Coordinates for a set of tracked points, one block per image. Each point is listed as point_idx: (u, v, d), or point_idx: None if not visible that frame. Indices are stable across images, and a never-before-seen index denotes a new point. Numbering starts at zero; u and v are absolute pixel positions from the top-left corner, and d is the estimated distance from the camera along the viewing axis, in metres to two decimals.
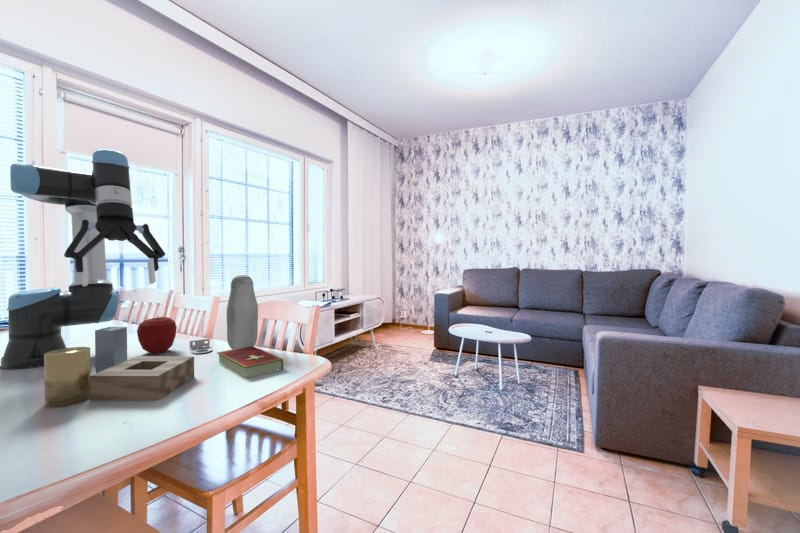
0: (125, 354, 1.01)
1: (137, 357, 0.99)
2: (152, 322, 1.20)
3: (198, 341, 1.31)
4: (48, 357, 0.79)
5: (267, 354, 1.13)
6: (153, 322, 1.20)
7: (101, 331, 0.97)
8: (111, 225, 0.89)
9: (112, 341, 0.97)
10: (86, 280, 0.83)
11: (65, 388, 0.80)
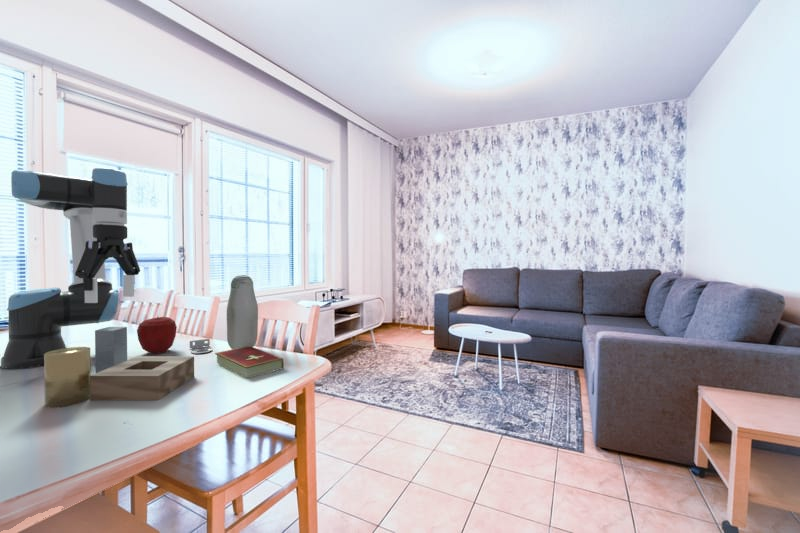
0: (125, 354, 1.01)
1: (137, 357, 0.99)
2: (152, 322, 1.20)
3: (198, 341, 1.31)
4: (48, 357, 0.79)
5: (267, 354, 1.13)
6: (153, 322, 1.20)
7: (101, 331, 0.97)
8: (114, 246, 0.97)
9: (112, 341, 0.97)
10: (96, 300, 0.92)
11: (65, 388, 0.80)
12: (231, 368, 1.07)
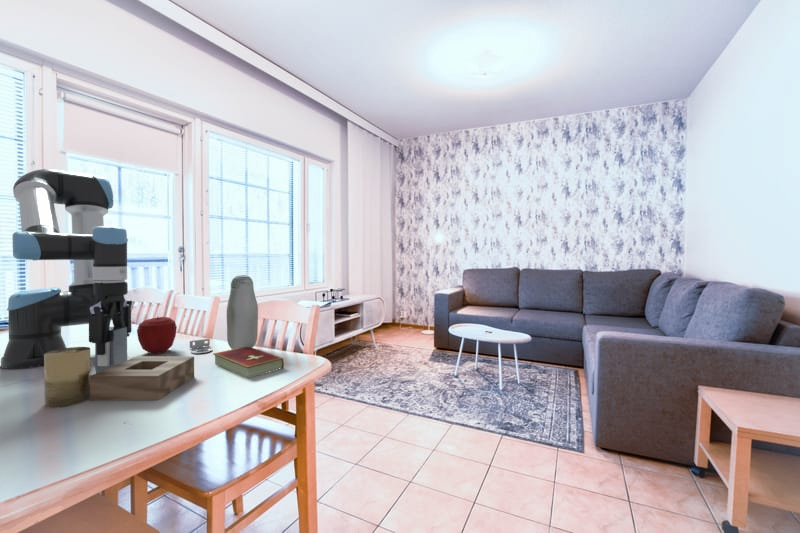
0: (125, 354, 1.01)
1: (137, 357, 0.99)
2: (152, 322, 1.20)
3: (198, 341, 1.31)
4: (48, 357, 0.79)
5: (266, 354, 1.13)
6: (153, 322, 1.20)
7: None
8: (114, 304, 0.98)
9: (112, 341, 0.97)
10: (108, 362, 0.97)
11: (65, 388, 0.80)
12: (231, 368, 1.06)
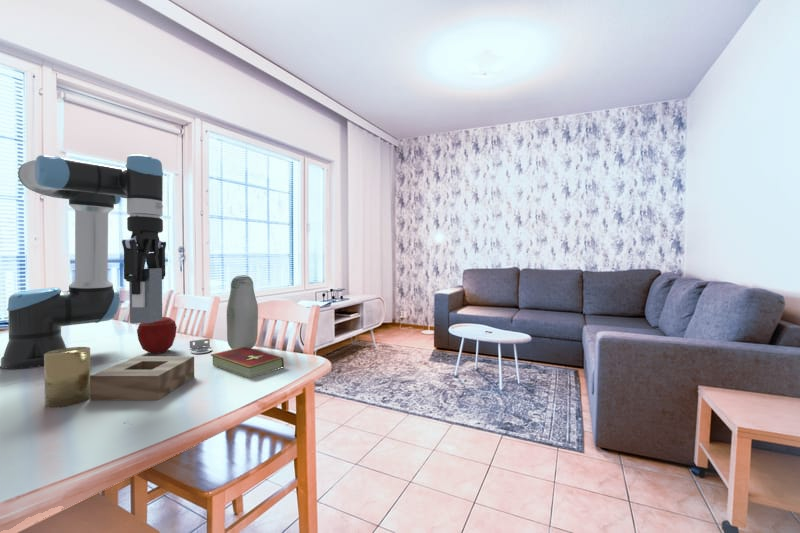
0: (160, 298, 0.93)
1: (137, 357, 0.99)
2: (152, 322, 1.20)
3: (198, 341, 1.31)
4: (48, 357, 0.79)
5: (265, 353, 1.13)
6: (153, 322, 1.20)
7: None
8: (149, 240, 0.90)
9: (148, 281, 0.89)
10: (144, 304, 0.89)
11: (65, 388, 0.80)
12: (230, 369, 1.06)
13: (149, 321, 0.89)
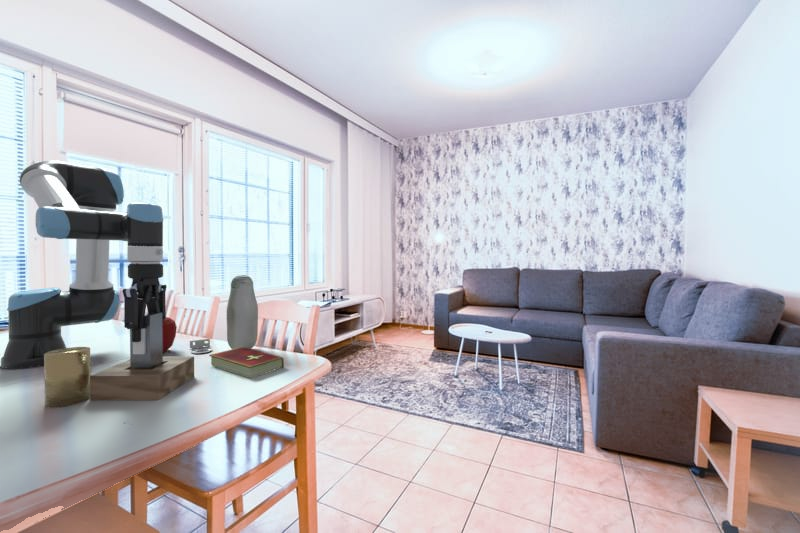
0: (160, 342, 0.94)
1: None
2: None
3: (198, 341, 1.31)
4: (48, 357, 0.79)
5: (265, 353, 1.13)
6: None
7: None
8: (150, 287, 0.90)
9: (148, 327, 0.89)
10: (144, 350, 0.89)
11: (65, 388, 0.80)
12: (230, 369, 1.06)
13: (150, 367, 0.90)
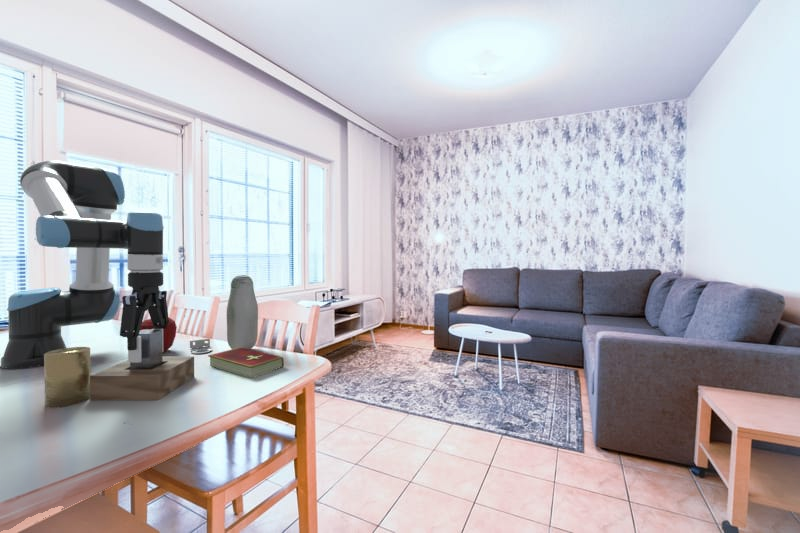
0: (160, 359, 0.94)
1: None
2: None
3: (198, 341, 1.31)
4: (48, 357, 0.79)
5: (264, 353, 1.13)
6: None
7: None
8: (150, 295, 0.90)
9: (148, 345, 0.90)
10: (140, 359, 0.88)
11: (65, 388, 0.80)
12: (230, 369, 1.05)
13: None
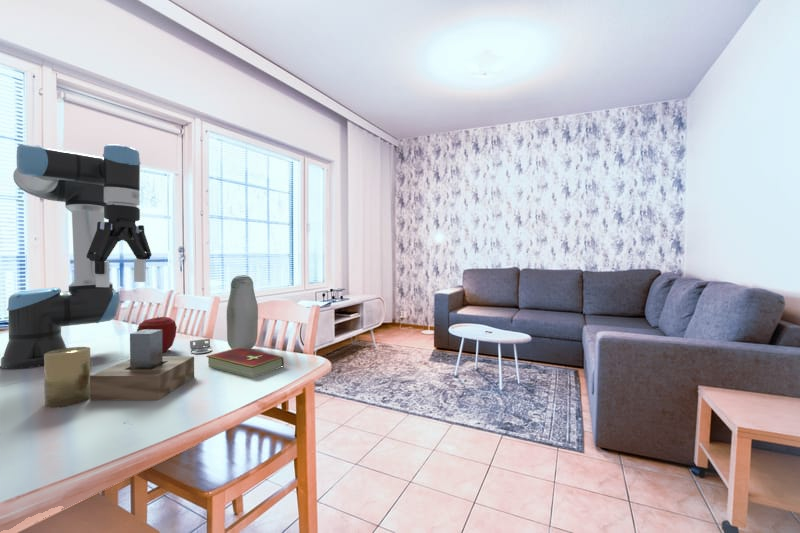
0: (160, 359, 0.94)
1: None
2: (152, 322, 1.20)
3: (198, 341, 1.31)
4: (48, 357, 0.79)
5: (263, 353, 1.13)
6: (153, 322, 1.20)
7: (137, 334, 0.89)
8: (126, 228, 0.92)
9: (148, 345, 0.90)
10: (108, 284, 0.87)
11: (65, 388, 0.80)
12: (230, 369, 1.05)
13: None
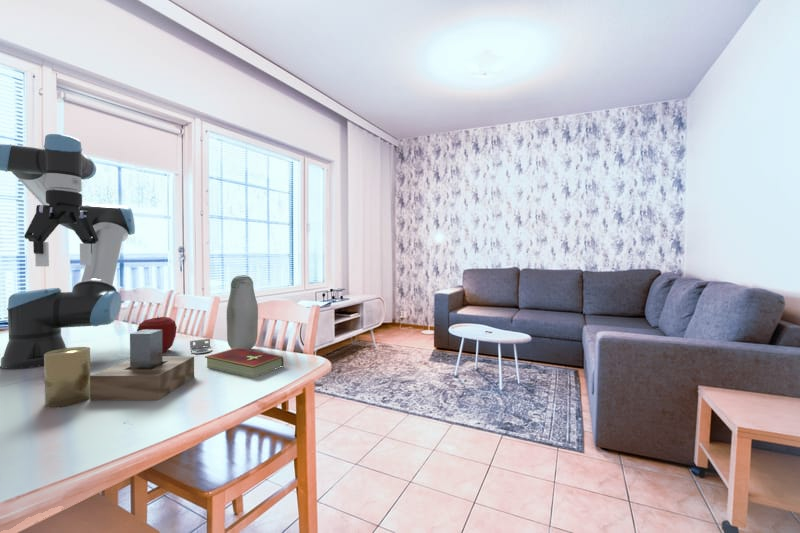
0: (160, 359, 0.94)
1: None
2: (152, 322, 1.20)
3: (199, 341, 1.31)
4: (48, 357, 0.79)
5: (263, 353, 1.13)
6: (153, 322, 1.20)
7: (137, 334, 0.89)
8: (67, 212, 0.98)
9: (148, 345, 0.90)
10: (47, 263, 0.93)
11: (65, 388, 0.80)
12: (230, 370, 1.05)
13: None
